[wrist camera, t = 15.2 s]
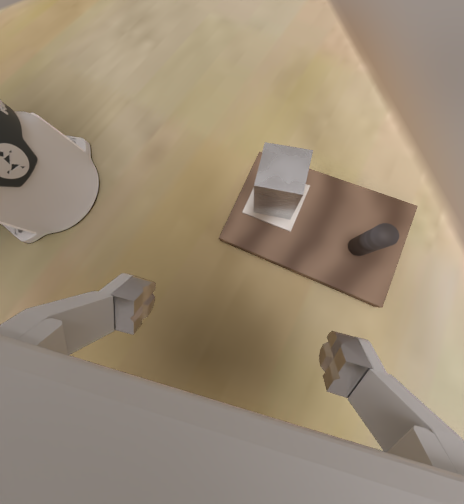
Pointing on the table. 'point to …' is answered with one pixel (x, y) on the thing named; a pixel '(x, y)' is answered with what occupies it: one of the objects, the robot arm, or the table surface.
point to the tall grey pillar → (281, 180)
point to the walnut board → (328, 234)
